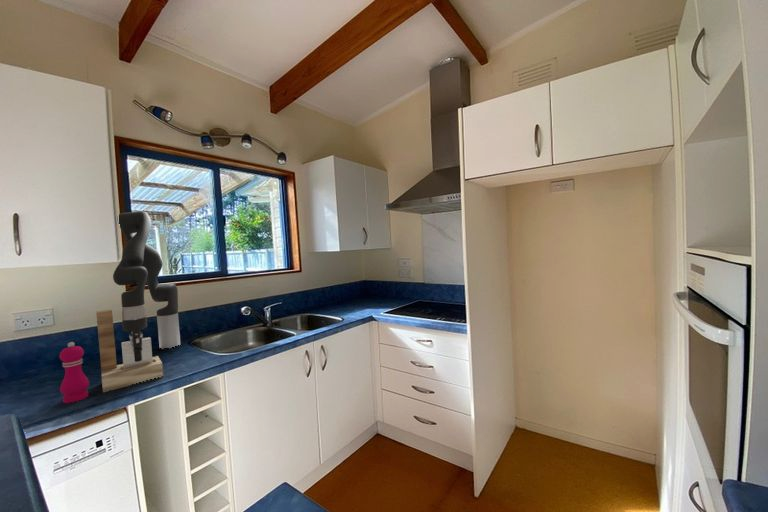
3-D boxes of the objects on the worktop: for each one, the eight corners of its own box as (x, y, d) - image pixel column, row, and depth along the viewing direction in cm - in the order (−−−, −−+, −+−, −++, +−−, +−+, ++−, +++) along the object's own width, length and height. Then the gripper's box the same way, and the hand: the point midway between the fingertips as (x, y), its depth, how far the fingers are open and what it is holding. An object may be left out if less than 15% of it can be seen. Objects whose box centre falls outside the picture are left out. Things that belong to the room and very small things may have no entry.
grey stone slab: (123, 372, 123) (121, 342, 123) (152, 365, 129) (149, 337, 129) (124, 374, 121) (121, 344, 121) (153, 367, 127) (150, 338, 127)
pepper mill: (93, 392, 114) (88, 337, 114) (86, 400, 108) (80, 342, 107) (66, 397, 111) (61, 341, 110) (57, 406, 105) (51, 347, 104)
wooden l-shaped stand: (102, 382, 122) (96, 311, 121) (158, 368, 134) (153, 303, 133) (103, 392, 113) (96, 315, 112) (163, 376, 126) (157, 307, 124)
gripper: (121, 316, 127) (124, 358, 128) (123, 321, 117) (127, 367, 117) (144, 313, 132) (147, 353, 133) (148, 317, 122) (151, 361, 122)
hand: (137, 359), depth 125 cm, fingers closed on grey stone slab, 3 cm apart
